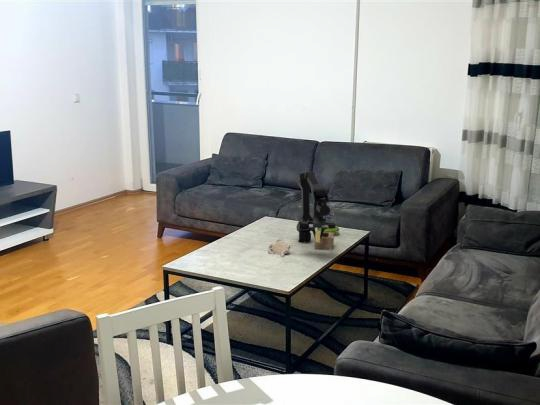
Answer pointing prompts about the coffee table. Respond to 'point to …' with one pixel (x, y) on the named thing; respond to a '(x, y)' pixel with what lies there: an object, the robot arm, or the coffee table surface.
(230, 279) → the coffee table surface
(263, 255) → the coffee table surface
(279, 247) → the turtle
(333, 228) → the potted plant
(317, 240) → the token
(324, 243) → the coin box
